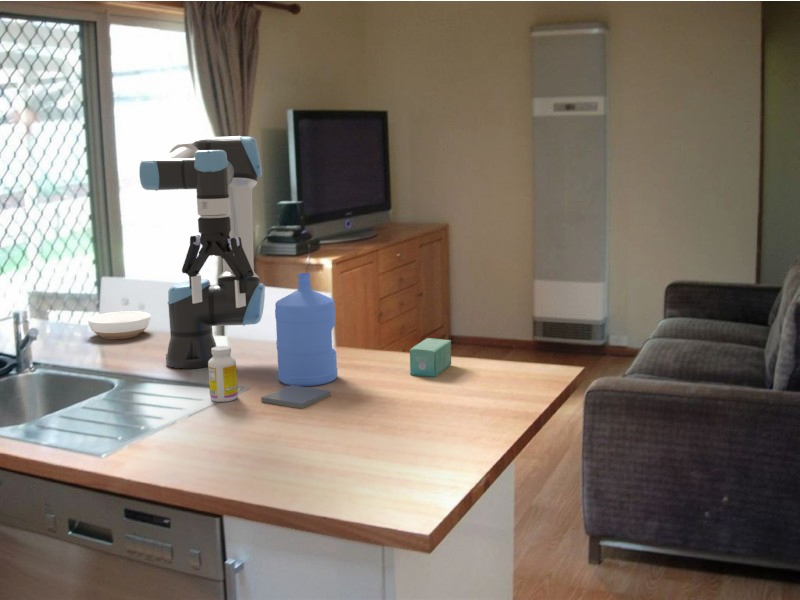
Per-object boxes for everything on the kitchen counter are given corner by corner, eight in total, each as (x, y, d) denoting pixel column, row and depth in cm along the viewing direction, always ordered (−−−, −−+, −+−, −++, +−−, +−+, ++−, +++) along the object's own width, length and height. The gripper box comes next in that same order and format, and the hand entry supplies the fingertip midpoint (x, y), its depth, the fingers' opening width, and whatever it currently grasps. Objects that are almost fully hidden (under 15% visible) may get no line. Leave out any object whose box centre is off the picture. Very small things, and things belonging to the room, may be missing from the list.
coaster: (261, 401, 219) (261, 397, 218) (291, 389, 229) (291, 384, 229) (301, 408, 213) (301, 403, 213) (330, 395, 223) (330, 390, 223)
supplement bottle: (241, 395, 225) (238, 344, 222) (233, 403, 218) (230, 351, 216) (214, 394, 225) (212, 344, 223) (206, 402, 219) (203, 351, 217)
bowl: (78, 341, 288) (76, 322, 287) (107, 328, 307) (105, 310, 306) (135, 342, 285) (134, 323, 283) (161, 329, 304) (160, 311, 302)
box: (409, 375, 240) (408, 348, 239) (426, 363, 252) (426, 337, 251) (435, 378, 237) (435, 350, 236) (451, 365, 250) (451, 339, 248)
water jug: (305, 390, 227) (301, 281, 222) (265, 380, 238) (260, 275, 233) (350, 377, 239) (346, 273, 234) (310, 368, 249) (306, 267, 244)
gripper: (163, 216, 217) (169, 303, 220) (245, 219, 204) (249, 311, 208) (185, 213, 223) (190, 298, 227) (265, 216, 211) (269, 305, 215)
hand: (218, 304), depth 217 cm, fingers open, 13 cm apart
